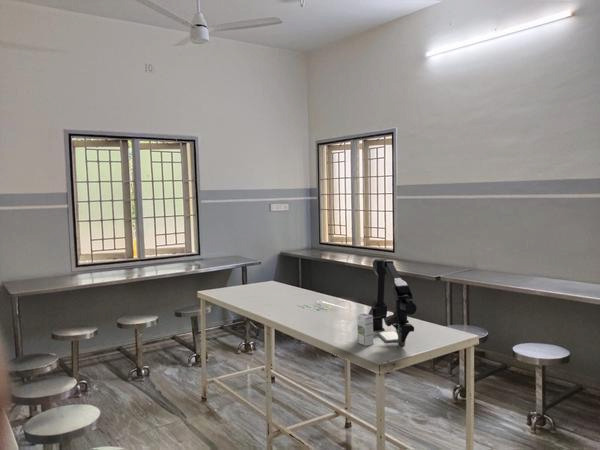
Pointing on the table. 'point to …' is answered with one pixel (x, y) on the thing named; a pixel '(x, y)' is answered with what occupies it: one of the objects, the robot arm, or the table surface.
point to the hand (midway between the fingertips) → (401, 341)
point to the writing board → (388, 336)
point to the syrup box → (365, 329)
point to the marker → (400, 339)
